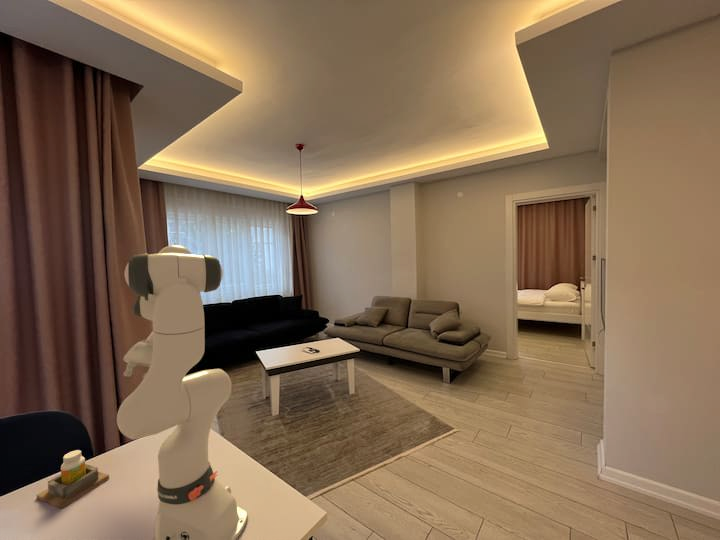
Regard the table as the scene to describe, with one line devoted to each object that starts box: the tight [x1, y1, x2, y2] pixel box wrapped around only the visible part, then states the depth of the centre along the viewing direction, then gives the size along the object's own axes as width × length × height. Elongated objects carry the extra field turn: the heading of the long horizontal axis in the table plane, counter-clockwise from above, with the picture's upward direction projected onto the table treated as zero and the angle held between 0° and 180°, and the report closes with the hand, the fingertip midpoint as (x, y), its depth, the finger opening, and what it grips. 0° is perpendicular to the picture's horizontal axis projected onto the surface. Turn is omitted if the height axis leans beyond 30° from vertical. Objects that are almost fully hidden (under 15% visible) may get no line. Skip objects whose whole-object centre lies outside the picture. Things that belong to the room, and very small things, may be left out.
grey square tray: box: [36, 463, 110, 509], centre depth 92 cm, size 12×12×4 cm
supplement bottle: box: [60, 449, 86, 486], centre depth 92 cm, size 5×5×10 cm
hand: (135, 377), depth 103 cm, fingers open, 8 cm apart
